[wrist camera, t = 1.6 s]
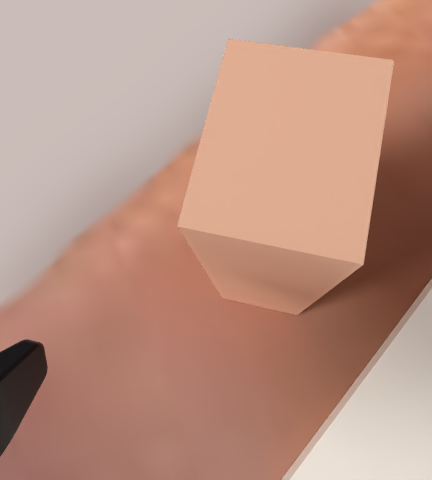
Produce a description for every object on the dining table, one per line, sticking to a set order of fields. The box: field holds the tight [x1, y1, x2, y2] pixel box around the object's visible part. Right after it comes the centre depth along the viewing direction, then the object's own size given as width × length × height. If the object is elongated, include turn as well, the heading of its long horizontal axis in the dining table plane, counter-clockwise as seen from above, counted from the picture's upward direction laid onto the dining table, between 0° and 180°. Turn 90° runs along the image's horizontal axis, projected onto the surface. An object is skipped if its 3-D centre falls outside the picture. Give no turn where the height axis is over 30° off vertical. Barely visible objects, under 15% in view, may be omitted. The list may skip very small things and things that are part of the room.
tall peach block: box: [177, 39, 394, 315], centre depth 15 cm, size 5×4×13 cm
